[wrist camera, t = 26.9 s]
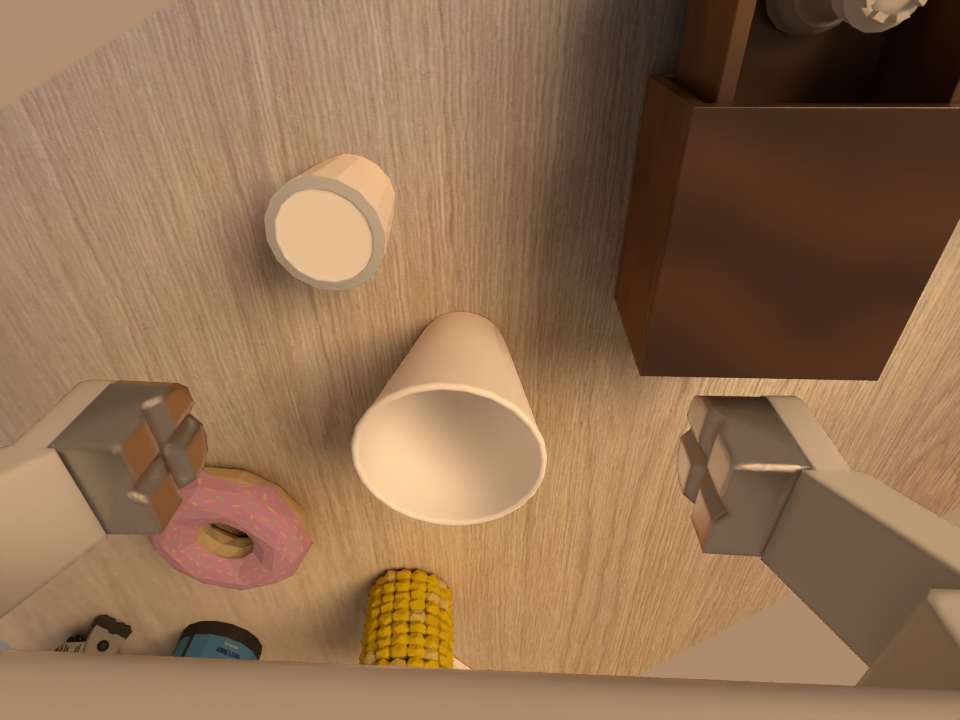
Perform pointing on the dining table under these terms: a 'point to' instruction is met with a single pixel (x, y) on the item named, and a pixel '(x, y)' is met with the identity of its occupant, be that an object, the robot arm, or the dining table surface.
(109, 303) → the dining table surface
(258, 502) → the donut
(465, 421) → the cup
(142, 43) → the dining table surface
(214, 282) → the dining table surface
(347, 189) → the shot glass
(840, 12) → the rook chess piece
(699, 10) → the drawer
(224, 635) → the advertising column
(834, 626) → the robot arm
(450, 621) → the food
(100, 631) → the figurine
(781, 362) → the cabinet
